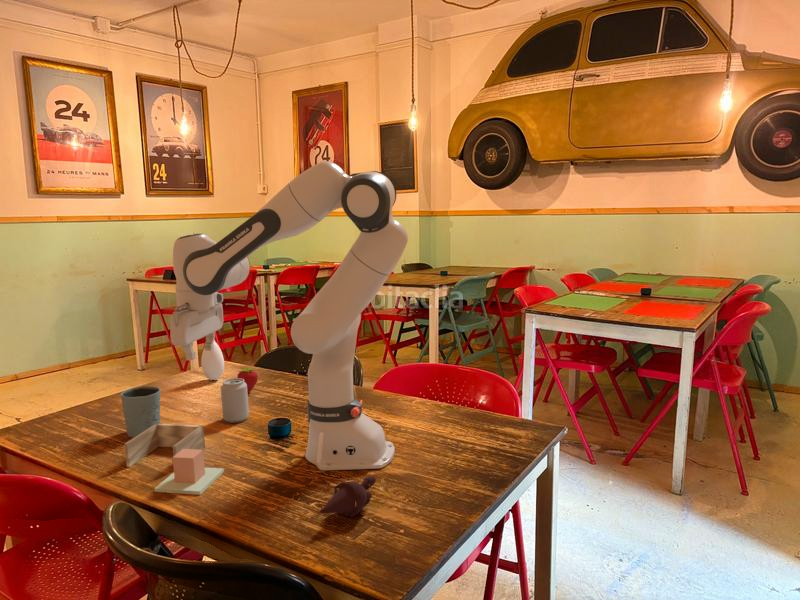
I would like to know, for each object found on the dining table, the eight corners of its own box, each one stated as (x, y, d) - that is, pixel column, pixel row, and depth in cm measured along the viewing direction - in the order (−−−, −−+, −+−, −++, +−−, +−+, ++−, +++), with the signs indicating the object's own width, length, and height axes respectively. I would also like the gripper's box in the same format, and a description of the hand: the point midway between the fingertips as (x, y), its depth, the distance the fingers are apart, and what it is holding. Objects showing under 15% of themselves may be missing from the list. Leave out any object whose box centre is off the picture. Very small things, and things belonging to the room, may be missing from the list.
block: (205, 473, 130) (203, 449, 129) (195, 483, 126) (193, 458, 125) (185, 472, 131) (183, 448, 130) (174, 482, 127) (172, 457, 126)
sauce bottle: (220, 375, 212) (216, 329, 209) (228, 380, 206) (225, 332, 203) (199, 380, 207) (195, 332, 204) (207, 384, 201) (203, 336, 198)
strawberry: (250, 396, 187) (248, 367, 185) (234, 393, 190) (232, 365, 189) (263, 391, 192) (261, 363, 191) (246, 388, 196) (244, 360, 194)
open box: (205, 447, 147) (203, 425, 146) (177, 469, 135) (175, 446, 134) (157, 444, 149) (155, 423, 149) (126, 466, 137) (124, 443, 136)
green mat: (224, 471, 133) (223, 468, 133) (200, 494, 122) (200, 491, 122) (181, 469, 135) (181, 466, 135) (154, 491, 124) (154, 488, 124)
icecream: (337, 506, 104) (389, 482, 116) (311, 485, 108) (364, 464, 120) (330, 537, 106) (382, 510, 117) (305, 516, 110) (357, 491, 122)
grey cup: (121, 431, 159) (116, 391, 158) (157, 422, 166) (153, 383, 164) (130, 442, 152) (126, 399, 150) (169, 432, 158) (165, 391, 156)
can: (252, 414, 170) (250, 376, 168) (243, 424, 163) (240, 384, 161) (229, 414, 171) (226, 376, 169) (219, 423, 164) (215, 384, 162)
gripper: (186, 307, 127) (191, 366, 129) (225, 293, 147) (229, 345, 149) (160, 307, 128) (166, 366, 130) (203, 293, 148) (207, 344, 150)
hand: (200, 354), depth 140 cm, fingers open, 8 cm apart
